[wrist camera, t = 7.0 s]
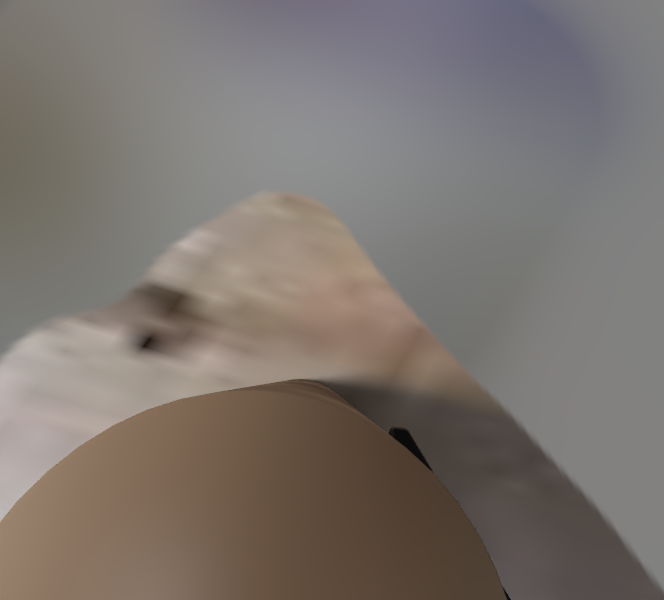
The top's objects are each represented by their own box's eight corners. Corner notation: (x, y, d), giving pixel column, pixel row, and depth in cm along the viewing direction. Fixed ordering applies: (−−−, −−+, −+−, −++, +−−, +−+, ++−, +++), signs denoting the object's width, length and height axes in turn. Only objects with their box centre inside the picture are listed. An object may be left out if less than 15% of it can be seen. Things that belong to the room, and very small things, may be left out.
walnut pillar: (375, 416, 16) (615, 574, 3) (317, 523, 15) (335, 1361, 2) (281, 358, 16) (166, 296, 4) (218, 459, 15) (-254, 868, 3)
